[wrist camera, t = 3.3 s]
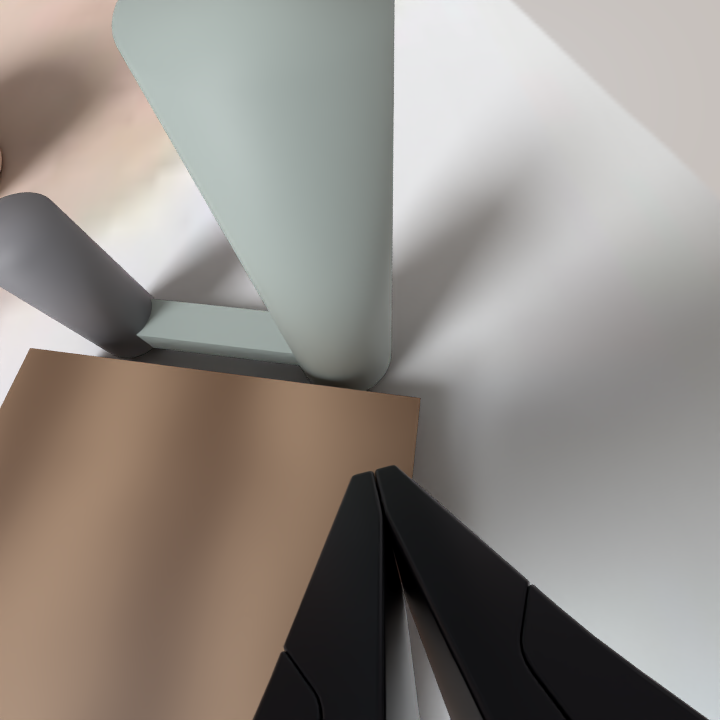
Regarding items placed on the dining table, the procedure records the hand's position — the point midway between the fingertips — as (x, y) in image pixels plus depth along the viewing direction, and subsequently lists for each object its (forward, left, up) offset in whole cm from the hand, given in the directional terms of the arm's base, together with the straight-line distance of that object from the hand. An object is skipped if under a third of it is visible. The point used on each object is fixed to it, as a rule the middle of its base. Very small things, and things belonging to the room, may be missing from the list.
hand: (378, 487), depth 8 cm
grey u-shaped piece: (+4, +7, -6) cm, 11 cm away
